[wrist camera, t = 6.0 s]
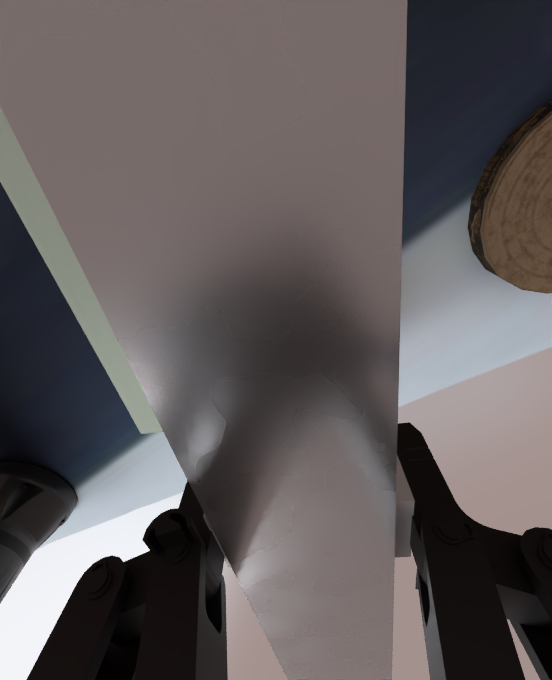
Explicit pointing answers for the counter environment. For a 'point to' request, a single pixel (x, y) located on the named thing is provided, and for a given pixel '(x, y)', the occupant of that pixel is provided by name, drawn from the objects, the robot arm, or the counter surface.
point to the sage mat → (69, 275)
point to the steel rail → (245, 271)
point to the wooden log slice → (517, 207)
